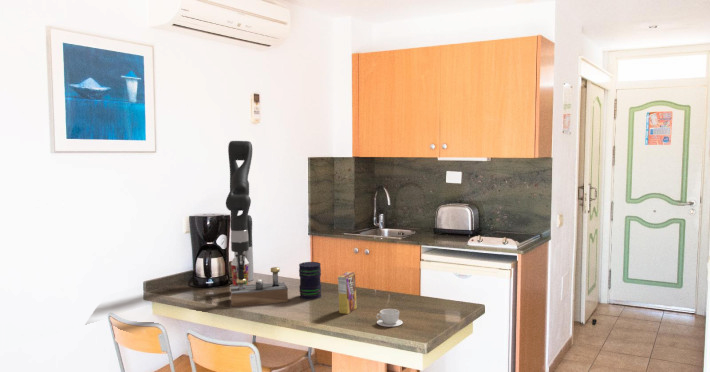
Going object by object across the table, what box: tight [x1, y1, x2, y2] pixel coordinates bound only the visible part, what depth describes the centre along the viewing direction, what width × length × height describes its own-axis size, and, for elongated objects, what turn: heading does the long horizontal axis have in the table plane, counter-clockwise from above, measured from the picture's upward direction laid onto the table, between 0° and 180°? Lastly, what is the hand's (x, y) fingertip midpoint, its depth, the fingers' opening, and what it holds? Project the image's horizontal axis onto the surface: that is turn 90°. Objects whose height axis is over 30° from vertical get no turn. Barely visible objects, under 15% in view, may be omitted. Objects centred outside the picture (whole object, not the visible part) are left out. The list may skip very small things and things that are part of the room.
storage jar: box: [298, 261, 322, 301], centre depth 258 cm, size 10×10×15 cm
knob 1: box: [236, 278, 246, 290], centre depth 252 cm, size 4×4×9 cm
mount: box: [230, 281, 289, 307], centre depth 254 cm, size 12×24×6 cm, turn 104°
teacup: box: [376, 308, 403, 328], centre depth 219 cm, size 10×10×5 cm
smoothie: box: [230, 257, 249, 286], centre depth 269 cm, size 8×8×20 cm
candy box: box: [337, 271, 357, 315], centre depth 236 cm, size 9×4×15 cm, turn 156°
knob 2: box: [270, 266, 281, 287], centre depth 255 cm, size 4×4×9 cm
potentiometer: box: [255, 279, 263, 290], centre depth 250 cm, size 3×3×4 cm
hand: (241, 279), depth 251 cm, fingers closed
